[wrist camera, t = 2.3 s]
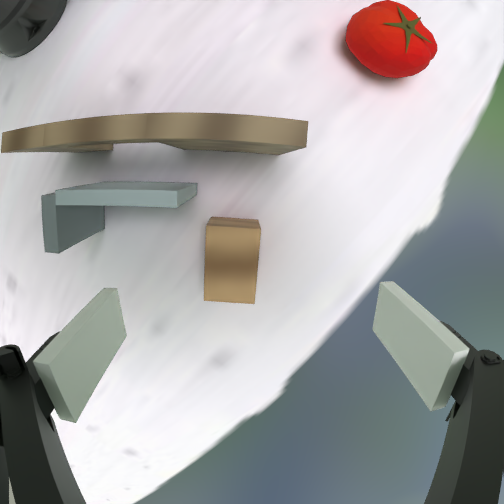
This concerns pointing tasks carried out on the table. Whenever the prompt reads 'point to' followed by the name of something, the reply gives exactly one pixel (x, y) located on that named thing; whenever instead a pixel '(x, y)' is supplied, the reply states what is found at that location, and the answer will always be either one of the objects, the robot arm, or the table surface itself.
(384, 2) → the tomato
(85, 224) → the gate
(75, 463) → the table surface
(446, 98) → the table surface
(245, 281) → the block
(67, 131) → the wall frame
